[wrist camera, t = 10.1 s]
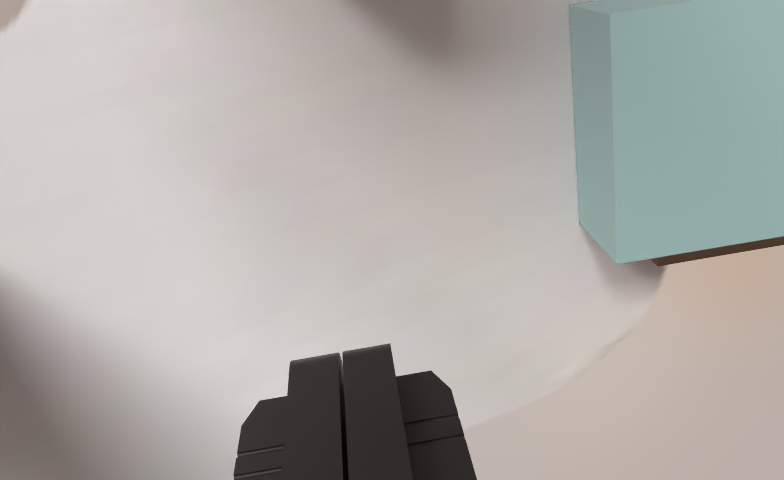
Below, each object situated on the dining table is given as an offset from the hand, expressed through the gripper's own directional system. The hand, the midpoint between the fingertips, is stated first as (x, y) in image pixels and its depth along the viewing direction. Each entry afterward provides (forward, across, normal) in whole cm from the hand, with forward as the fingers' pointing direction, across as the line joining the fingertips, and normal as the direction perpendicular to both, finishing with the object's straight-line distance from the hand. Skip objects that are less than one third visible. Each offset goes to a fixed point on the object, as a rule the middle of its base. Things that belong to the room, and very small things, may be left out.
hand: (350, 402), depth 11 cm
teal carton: (+22, -14, +3) cm, 26 cm away
